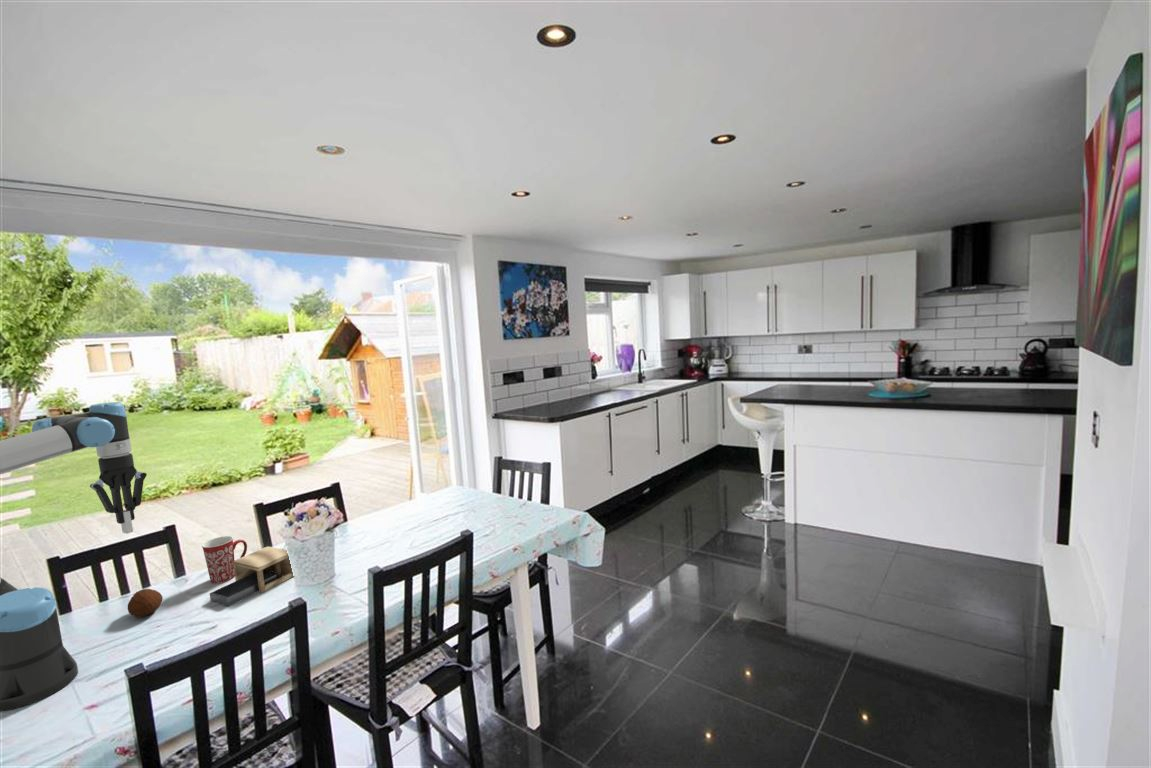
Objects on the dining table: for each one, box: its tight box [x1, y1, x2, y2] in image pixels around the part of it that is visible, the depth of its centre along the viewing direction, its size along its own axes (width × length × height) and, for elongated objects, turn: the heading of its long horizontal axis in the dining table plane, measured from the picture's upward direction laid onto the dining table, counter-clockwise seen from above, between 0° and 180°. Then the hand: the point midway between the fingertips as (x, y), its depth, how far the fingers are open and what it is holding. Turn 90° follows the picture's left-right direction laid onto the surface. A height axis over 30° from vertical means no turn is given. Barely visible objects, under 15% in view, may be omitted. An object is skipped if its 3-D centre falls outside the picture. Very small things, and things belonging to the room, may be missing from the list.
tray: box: [209, 571, 277, 607], centre depth 166 cm, size 16×9×3 cm, turn 154°
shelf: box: [233, 545, 294, 594], centre depth 172 cm, size 12×13×9 cm
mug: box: [201, 535, 248, 584], centre depth 177 cm, size 13×9×14 cm
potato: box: [127, 588, 164, 618], centre depth 156 cm, size 8×11×8 cm
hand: (127, 532), depth 152 cm, fingers closed
